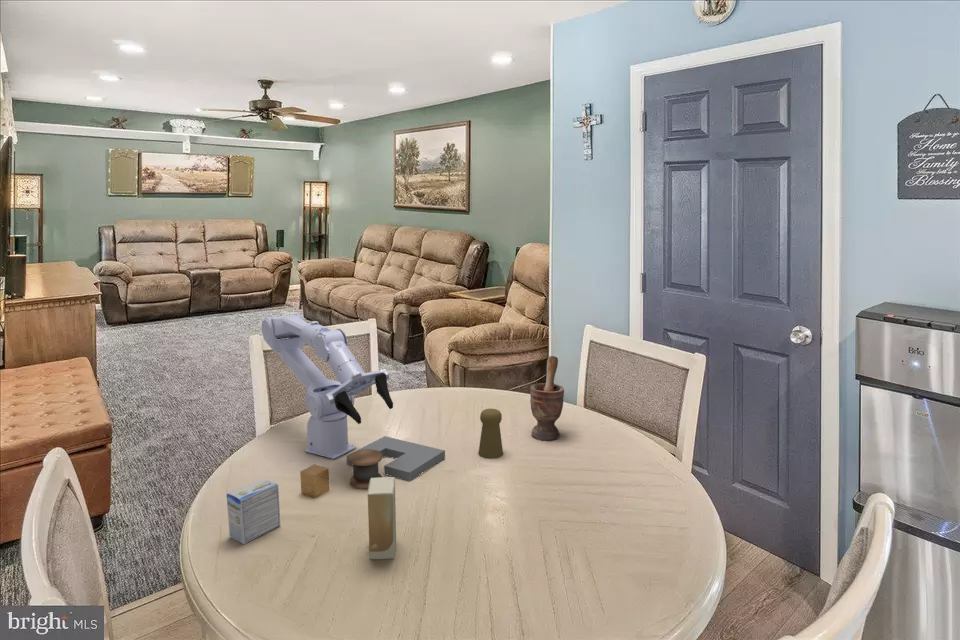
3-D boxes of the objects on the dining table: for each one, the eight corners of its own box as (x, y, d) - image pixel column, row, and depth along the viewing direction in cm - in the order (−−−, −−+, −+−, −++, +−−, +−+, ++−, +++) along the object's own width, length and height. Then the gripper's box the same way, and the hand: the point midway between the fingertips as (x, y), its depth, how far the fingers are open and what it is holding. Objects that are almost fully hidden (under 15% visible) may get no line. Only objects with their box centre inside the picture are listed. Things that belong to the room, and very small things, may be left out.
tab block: (301, 493, 125) (300, 471, 124) (315, 486, 128) (314, 464, 127) (315, 498, 123) (314, 475, 122) (329, 490, 126) (328, 468, 125)
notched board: (346, 463, 139) (346, 455, 139) (385, 443, 151) (384, 436, 151) (409, 481, 131) (409, 472, 130) (444, 458, 143) (444, 450, 142)
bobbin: (342, 484, 129) (341, 458, 128) (364, 472, 135) (363, 446, 134) (368, 491, 126) (367, 464, 124) (389, 479, 132) (388, 453, 130)
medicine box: (266, 519, 114) (263, 476, 113) (281, 526, 112) (278, 483, 110) (229, 537, 108) (225, 492, 106) (244, 545, 106) (240, 499, 104)
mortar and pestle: (526, 425, 164) (528, 354, 161) (558, 425, 165) (560, 354, 161) (531, 441, 153) (532, 365, 149) (565, 441, 153) (567, 365, 150)
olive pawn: (501, 459, 142) (501, 415, 140) (475, 457, 143) (476, 413, 141) (505, 449, 148) (505, 407, 146) (480, 447, 149) (481, 405, 147)
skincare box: (372, 540, 107) (370, 476, 105) (396, 539, 108) (395, 475, 105) (368, 561, 101) (366, 493, 99) (394, 560, 101) (393, 492, 99)
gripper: (316, 371, 130) (344, 417, 123) (375, 346, 137) (405, 389, 130) (318, 390, 136) (345, 435, 129) (376, 365, 142) (404, 407, 135)
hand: (375, 413), depth 130 cm, fingers open, 7 cm apart
